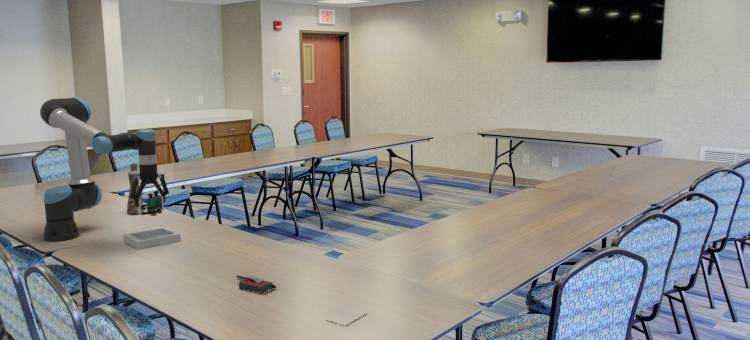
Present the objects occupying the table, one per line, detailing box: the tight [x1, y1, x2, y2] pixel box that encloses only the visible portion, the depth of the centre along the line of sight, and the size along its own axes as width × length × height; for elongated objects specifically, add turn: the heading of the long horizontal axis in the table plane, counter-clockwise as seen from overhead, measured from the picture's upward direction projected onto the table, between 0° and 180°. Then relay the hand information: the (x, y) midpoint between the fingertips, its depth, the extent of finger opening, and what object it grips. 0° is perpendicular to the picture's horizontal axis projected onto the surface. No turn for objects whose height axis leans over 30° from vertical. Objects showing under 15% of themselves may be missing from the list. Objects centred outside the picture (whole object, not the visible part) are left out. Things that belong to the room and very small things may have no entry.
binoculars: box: [141, 190, 163, 217], centre depth 274 cm, size 9×11×10 cm
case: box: [123, 226, 181, 250], centre depth 277 cm, size 16×20×4 cm
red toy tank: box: [236, 275, 277, 293], centre depth 223 cm, size 9×4×20 cm
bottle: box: [126, 162, 145, 216], centre depth 326 cm, size 9×9×28 cm
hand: (150, 211), depth 275 cm, fingers closed on binoculars, 10 cm apart
